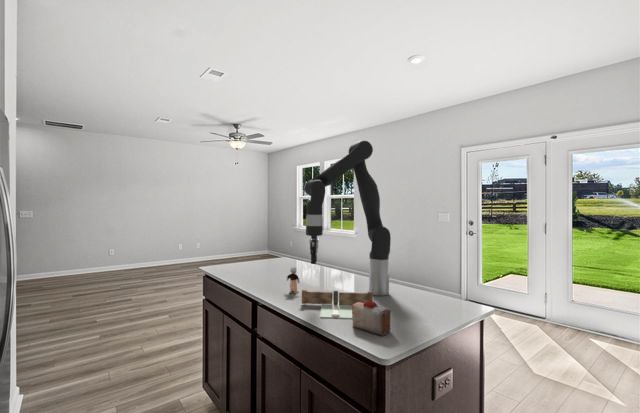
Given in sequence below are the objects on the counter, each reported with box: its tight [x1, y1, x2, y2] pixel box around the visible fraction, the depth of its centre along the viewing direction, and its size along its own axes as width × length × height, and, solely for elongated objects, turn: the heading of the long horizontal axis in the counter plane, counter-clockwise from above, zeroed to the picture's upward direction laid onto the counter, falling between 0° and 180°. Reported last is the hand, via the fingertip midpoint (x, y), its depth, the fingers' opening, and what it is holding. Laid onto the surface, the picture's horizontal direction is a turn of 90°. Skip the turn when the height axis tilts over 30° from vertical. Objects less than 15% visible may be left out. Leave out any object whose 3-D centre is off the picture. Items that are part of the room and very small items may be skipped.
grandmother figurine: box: [286, 266, 301, 294], centre depth 156 cm, size 8×4×13 cm, turn 71°
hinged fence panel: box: [301, 289, 339, 305], centre depth 137 cm, size 16×2×6 cm, turn 87°
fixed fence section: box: [338, 290, 374, 306], centre depth 136 cm, size 14×2×6 cm, turn 87°
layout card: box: [319, 300, 353, 320], centre depth 132 cm, size 23×21×1 cm
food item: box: [351, 300, 392, 337], centre depth 112 cm, size 14×8×10 cm, turn 49°
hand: (313, 262), depth 143 cm, fingers open, 3 cm apart
